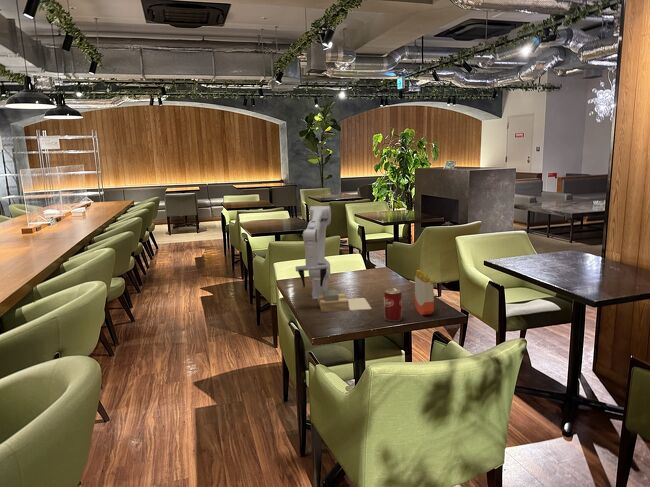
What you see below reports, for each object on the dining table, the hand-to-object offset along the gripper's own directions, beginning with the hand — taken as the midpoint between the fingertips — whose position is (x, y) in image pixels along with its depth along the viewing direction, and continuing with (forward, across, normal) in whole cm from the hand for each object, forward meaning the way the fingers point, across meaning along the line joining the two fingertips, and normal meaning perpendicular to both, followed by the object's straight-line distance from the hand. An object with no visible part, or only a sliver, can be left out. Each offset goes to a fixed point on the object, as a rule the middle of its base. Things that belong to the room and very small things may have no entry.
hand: (312, 286), depth 216 cm
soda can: (+11, +31, -21) cm, 39 cm away
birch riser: (+10, +9, +1) cm, 14 cm away
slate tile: (+6, +8, +1) cm, 10 cm away
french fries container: (+10, +46, -16) cm, 50 cm away
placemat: (+10, +20, +1) cm, 23 cm away
